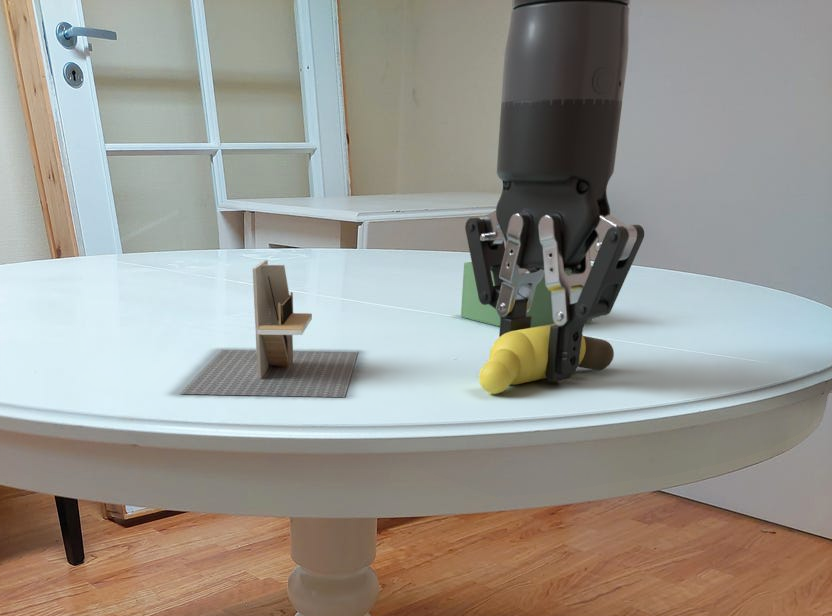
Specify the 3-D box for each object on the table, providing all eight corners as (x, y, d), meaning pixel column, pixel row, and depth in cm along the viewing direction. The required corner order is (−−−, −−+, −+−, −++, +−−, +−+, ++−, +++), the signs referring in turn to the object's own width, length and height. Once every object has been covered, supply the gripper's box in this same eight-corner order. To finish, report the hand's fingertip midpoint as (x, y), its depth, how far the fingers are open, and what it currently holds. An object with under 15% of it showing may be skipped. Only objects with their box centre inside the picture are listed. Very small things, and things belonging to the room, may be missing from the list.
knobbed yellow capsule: (569, 345, 69) (593, 306, 66) (603, 381, 68) (630, 343, 65) (446, 369, 62) (468, 326, 59) (482, 410, 60) (506, 368, 58)
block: (531, 309, 92) (536, 257, 89) (592, 323, 85) (599, 266, 82) (460, 317, 88) (463, 262, 85) (518, 331, 81) (523, 272, 78)
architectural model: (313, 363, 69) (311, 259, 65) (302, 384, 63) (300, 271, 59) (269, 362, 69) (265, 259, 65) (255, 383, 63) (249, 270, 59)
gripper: (695, 93, 53) (650, 383, 62) (515, 102, 63) (497, 353, 71) (620, 88, 49) (582, 401, 57) (440, 99, 59) (430, 366, 67)
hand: (535, 373), depth 64 cm, fingers closed on knobbed yellow capsule, 3 cm apart
